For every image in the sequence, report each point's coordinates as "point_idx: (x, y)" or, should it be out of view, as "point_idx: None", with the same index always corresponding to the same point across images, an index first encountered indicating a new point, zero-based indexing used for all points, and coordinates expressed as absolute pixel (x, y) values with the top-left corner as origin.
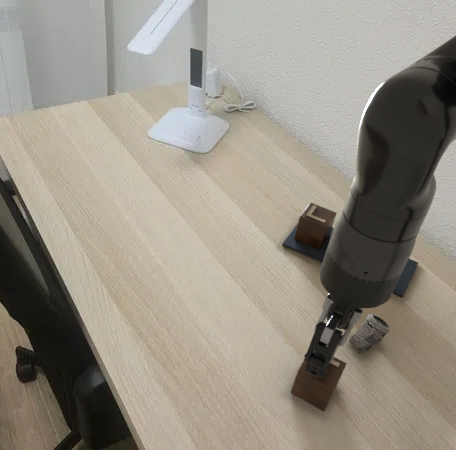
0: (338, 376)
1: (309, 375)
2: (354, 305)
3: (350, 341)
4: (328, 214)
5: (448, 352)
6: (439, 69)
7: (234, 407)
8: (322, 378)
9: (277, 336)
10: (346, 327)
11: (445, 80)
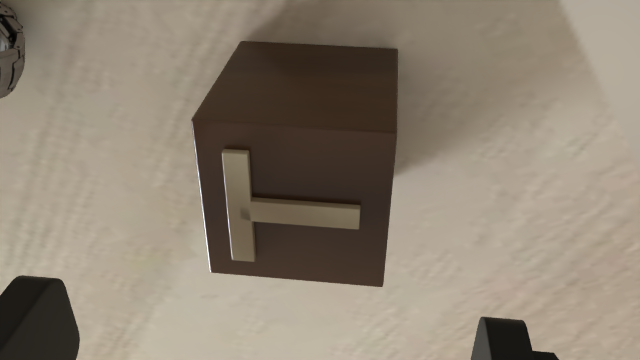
0: (301, 133)
1: (380, 244)
2: None
3: (12, 87)
4: None
5: None
6: None
7: (541, 304)
8: (524, 322)
9: (186, 279)
10: (48, 299)
11: None
